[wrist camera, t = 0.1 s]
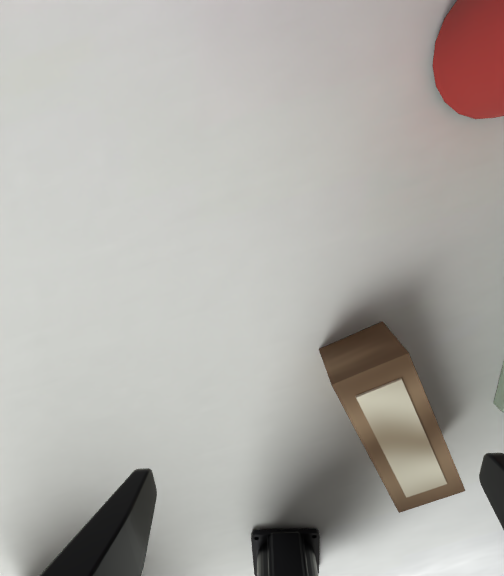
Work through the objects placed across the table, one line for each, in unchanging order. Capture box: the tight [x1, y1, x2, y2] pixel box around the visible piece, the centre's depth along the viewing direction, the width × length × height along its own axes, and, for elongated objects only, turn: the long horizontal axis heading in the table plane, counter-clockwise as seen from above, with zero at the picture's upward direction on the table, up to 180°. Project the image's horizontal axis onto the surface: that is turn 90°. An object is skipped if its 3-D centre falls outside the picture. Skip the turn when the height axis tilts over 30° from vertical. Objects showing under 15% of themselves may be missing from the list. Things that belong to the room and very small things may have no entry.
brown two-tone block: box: [319, 322, 465, 513], centre depth 24 cm, size 13×5×5 cm, turn 28°
